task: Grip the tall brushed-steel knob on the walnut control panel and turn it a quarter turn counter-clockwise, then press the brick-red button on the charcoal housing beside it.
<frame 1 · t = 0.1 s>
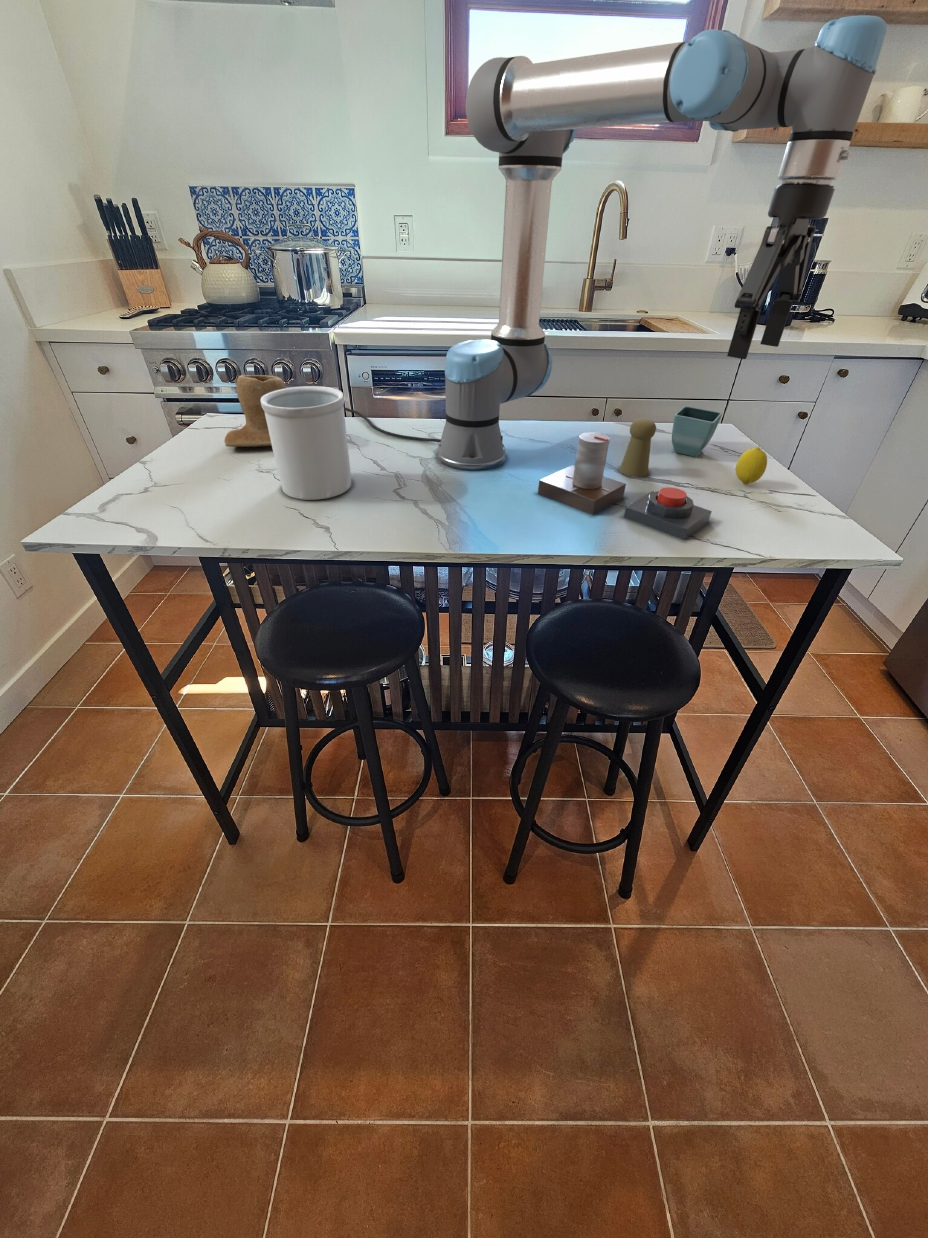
hand: (753, 351, 88), 28 cm above the table, tool pointing down, fingers open, 13 cm apart
olive pawn figure: (633, 472, 120), on the table
flower pot: (687, 452, 130), on the table
lemon: (744, 485, 115), on the table
utensil holder: (316, 486, 111), on the table
button box: (665, 519, 102), on the table
control panel: (580, 495, 109), on the table
knob: (590, 459, 104), point 8 cm above the table, hinge at 0.0°
tan felt boot: (264, 443, 129), on the table
start button: (671, 497, 99), point 4 cm above the table, slide at 0.1 cm
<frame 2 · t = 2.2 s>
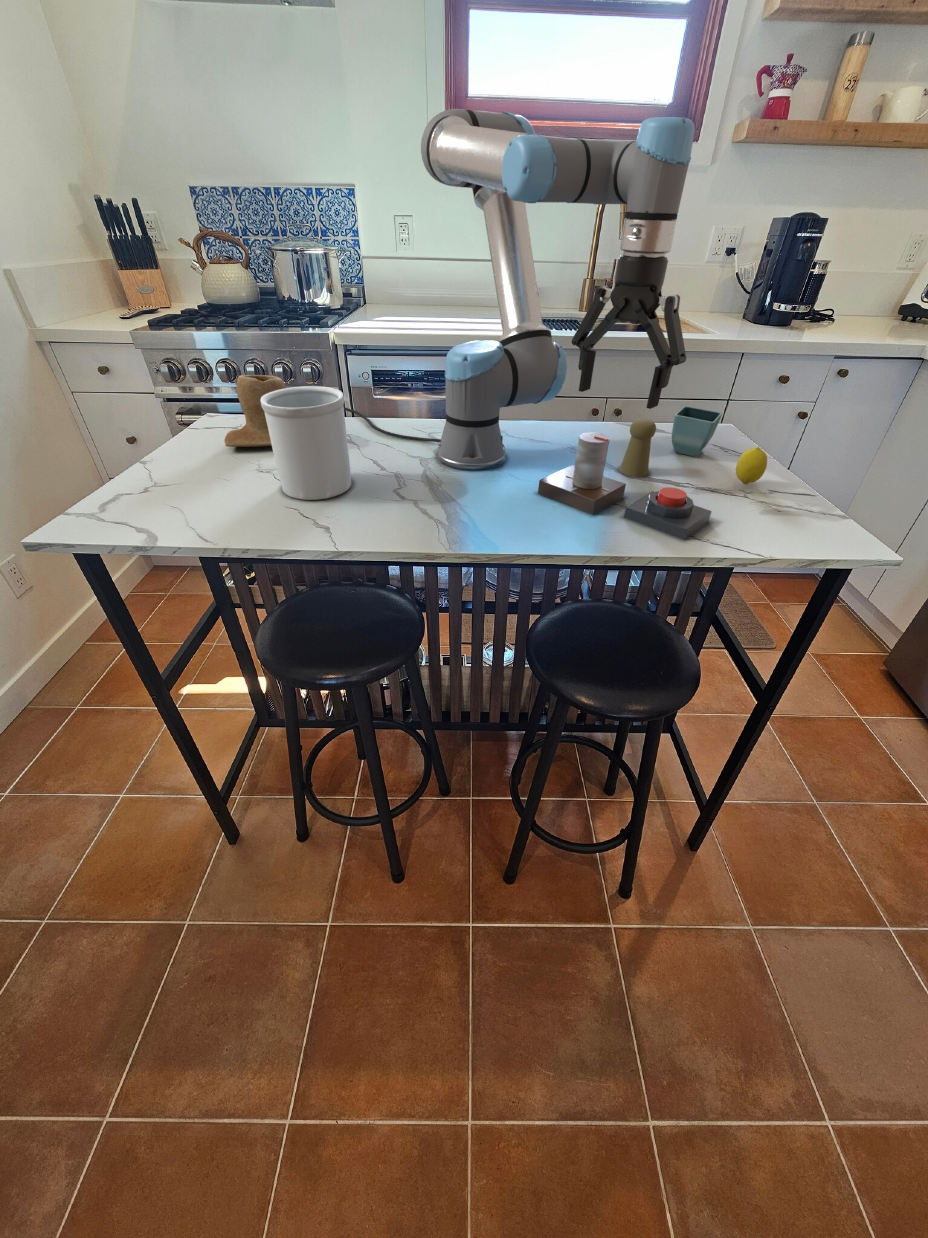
hand: (616, 398, 97), 19 cm above the table, tool pointing down, fingers open, 13 cm apart
nothing on the table moved.
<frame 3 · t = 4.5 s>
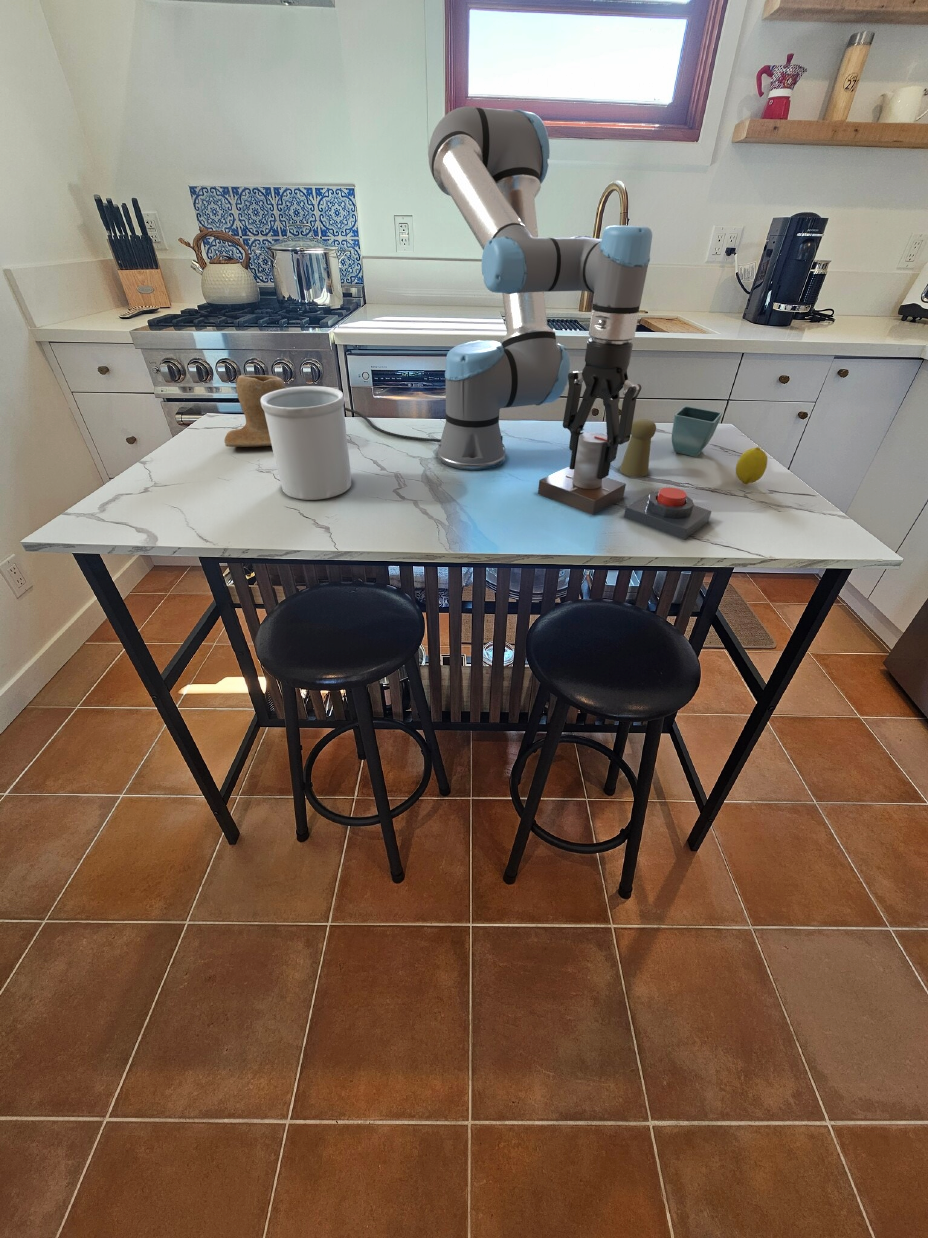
hand: (588, 471, 105), 5 cm above the table, tool pointing down, fingers closed on knob, 6 cm apart
knob: (590, 459, 104), point 8 cm above the table, hinge at 0.0°, touching gripper
everything else where it was.
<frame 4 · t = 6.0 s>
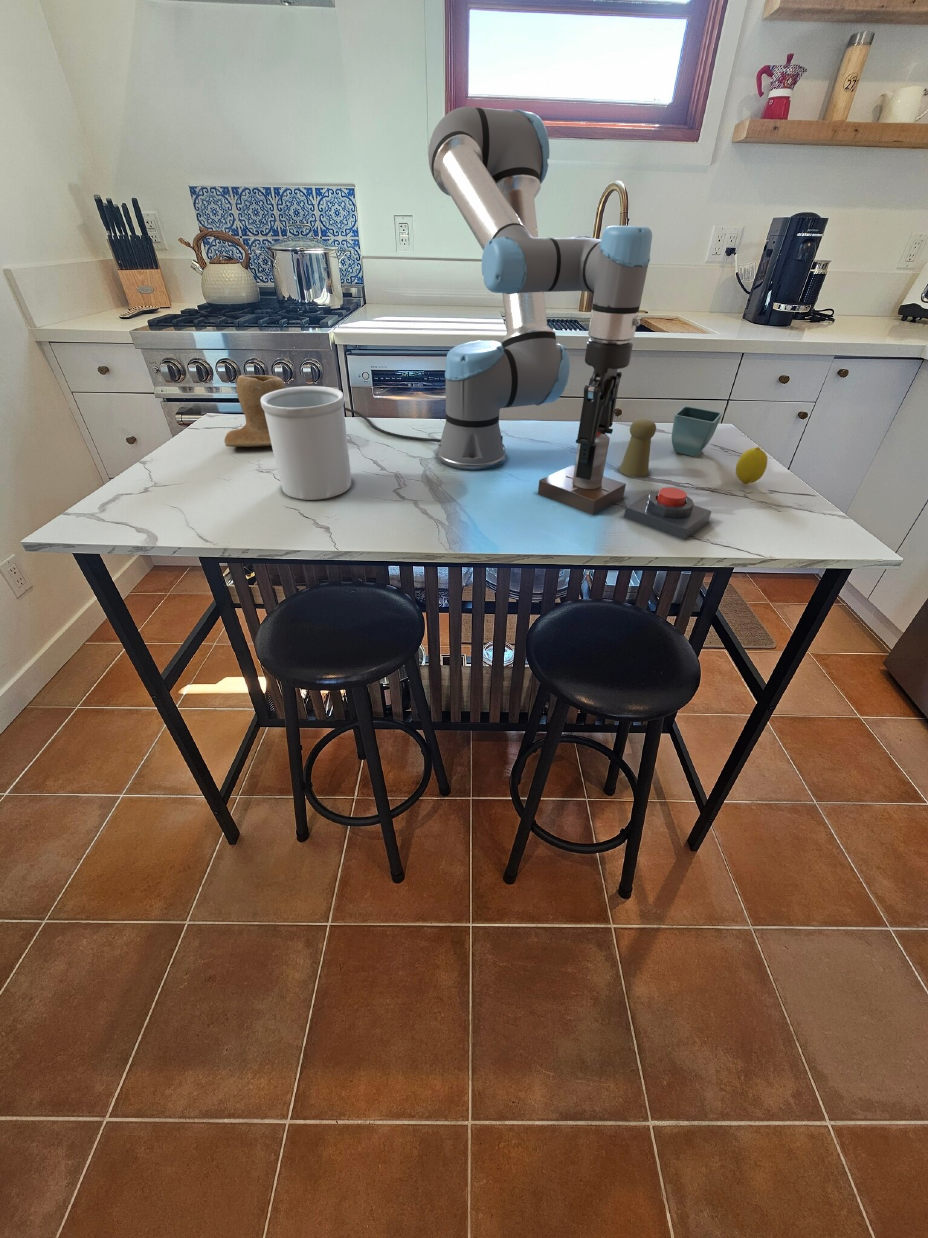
hand: (588, 471, 105), 5 cm above the table, tool pointing down, fingers closed on knob, 6 cm apart
knob: (590, 459, 104), point 8 cm above the table, hinge at 104.3°, touching gripper
everything else where it was.
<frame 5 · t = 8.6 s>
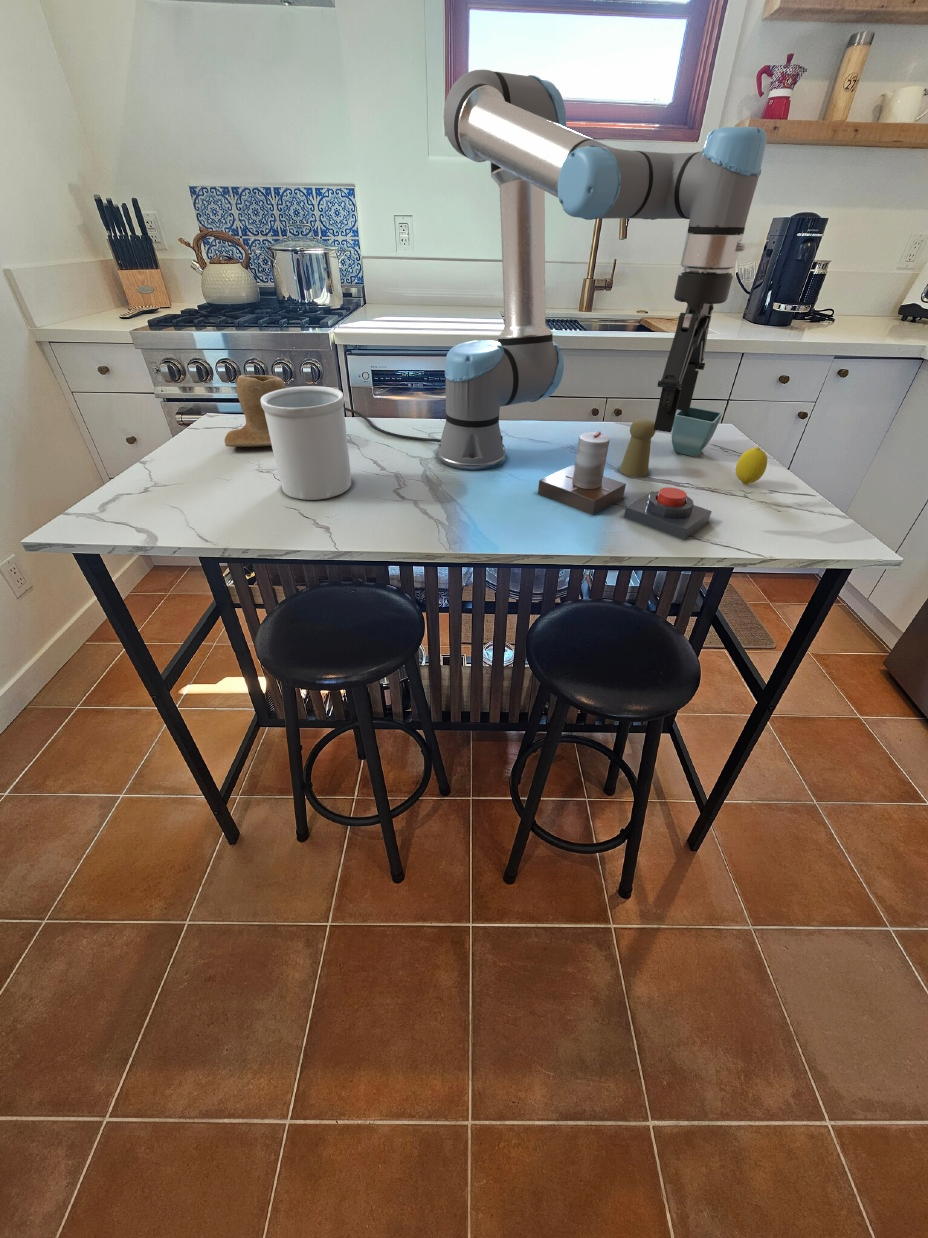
hand: (672, 419, 92), 18 cm above the table, tool pointing down, fingers open, 13 cm apart
knob: (590, 459, 104), point 8 cm above the table, hinge at 104.1°
everything else where it was.
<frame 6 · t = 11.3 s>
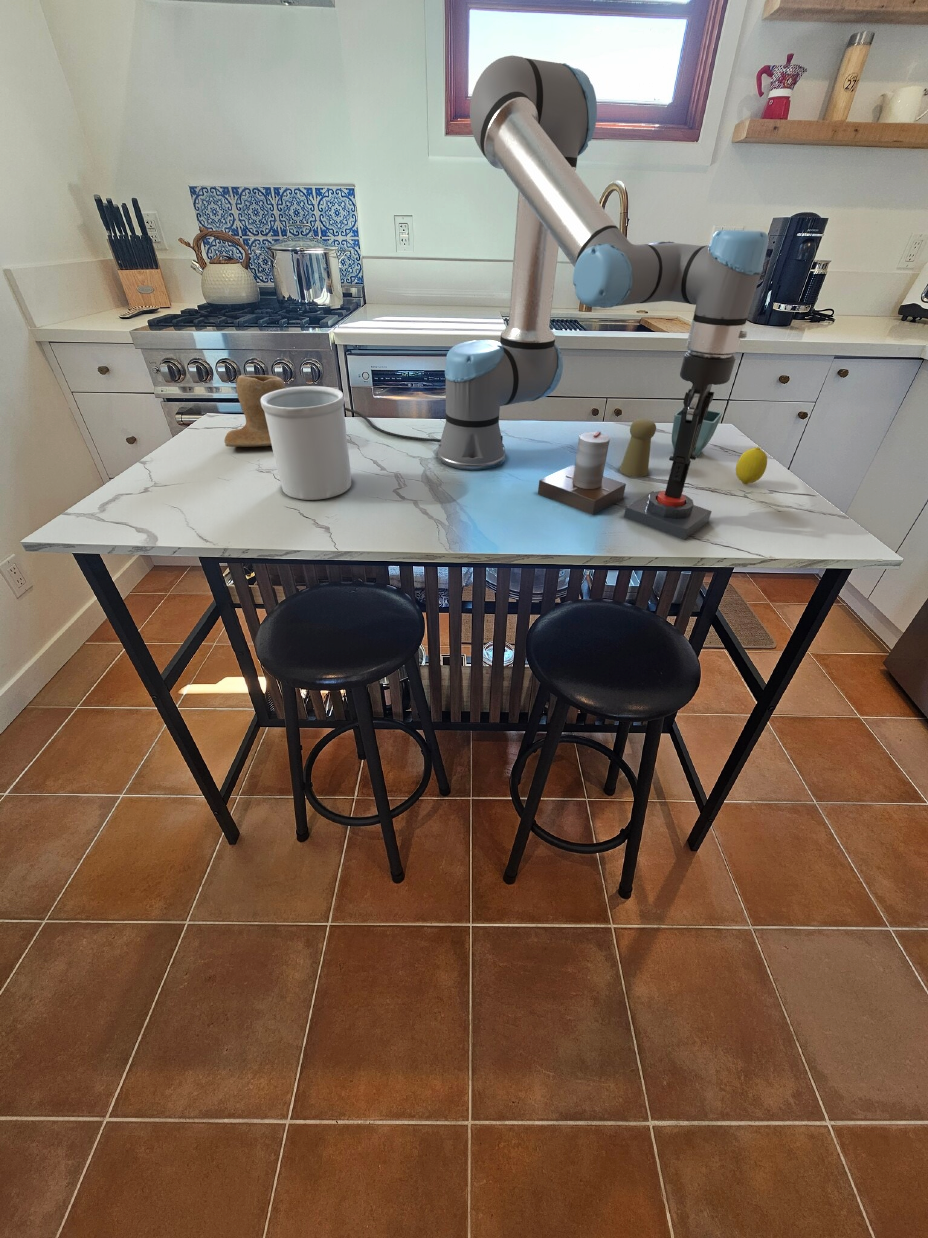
hand: (672, 495, 99), 5 cm above the table, tool pointing down, fingers closed
start button: (670, 500, 99), point 4 cm above the table, slide at -0.6 cm, touching gripper
everything else where it was.
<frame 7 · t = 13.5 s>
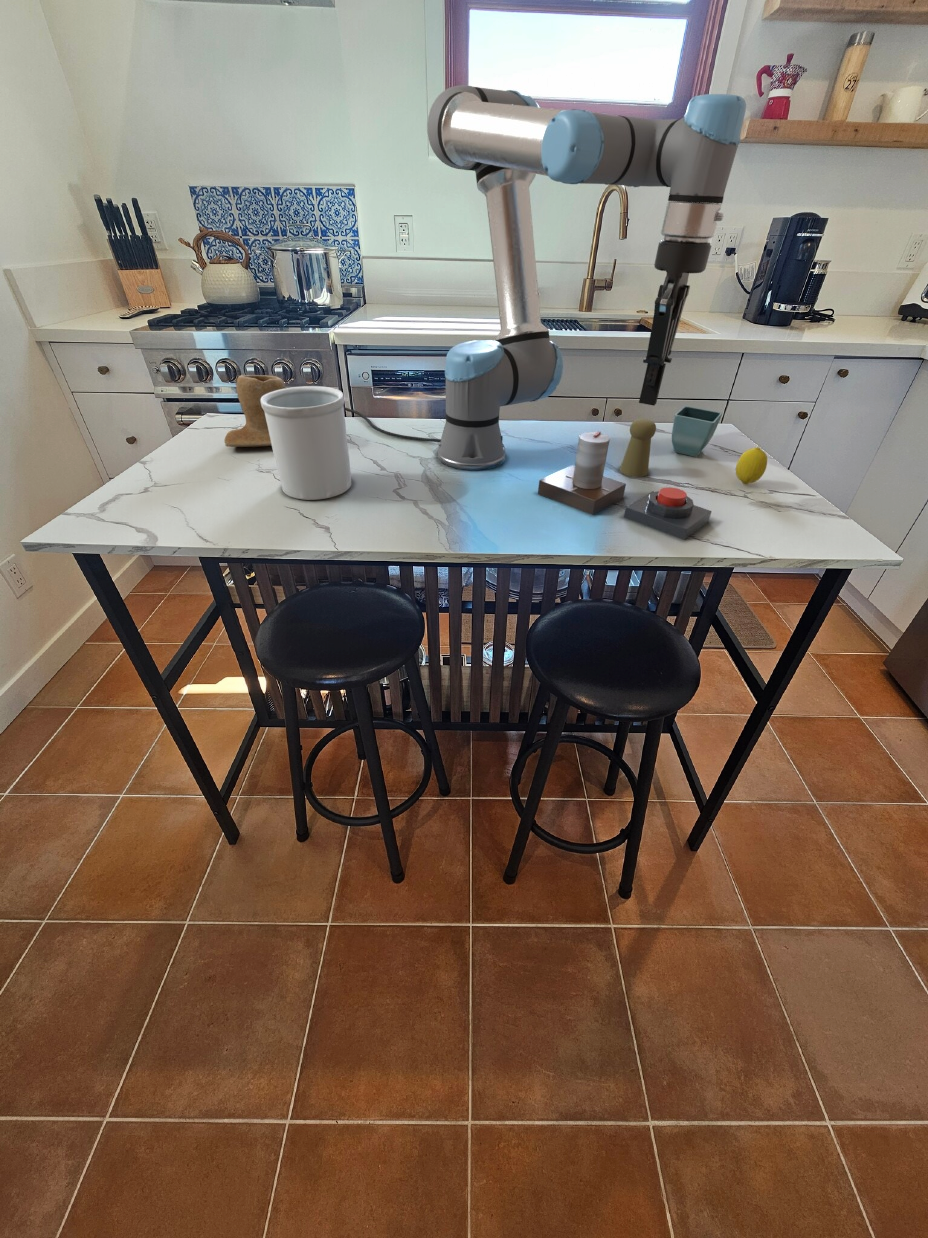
hand: (647, 402, 96), 19 cm above the table, tool pointing down, fingers closed
start button: (671, 497, 99), point 4 cm above the table, slide at 0.1 cm
everything else where it was.
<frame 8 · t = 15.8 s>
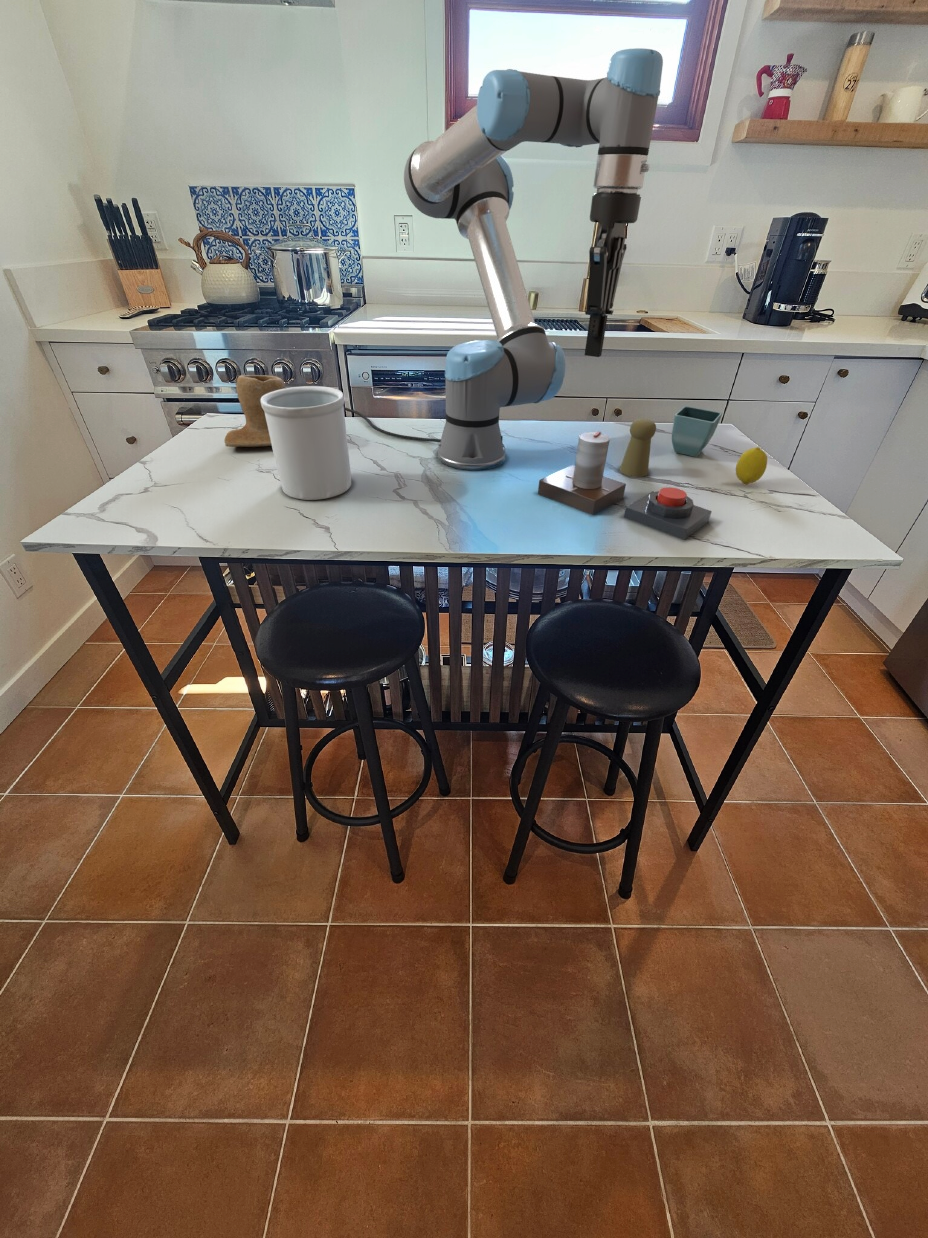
hand: (592, 355, 100), 24 cm above the table, tool pointing down, fingers closed
nothing on the table moved.
at the end: knob at +104° (first picture: +0°); start button pushed in 1.0 cm at the most during the clip, back to where it started at the end; start button slide at 0.1 cm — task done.
